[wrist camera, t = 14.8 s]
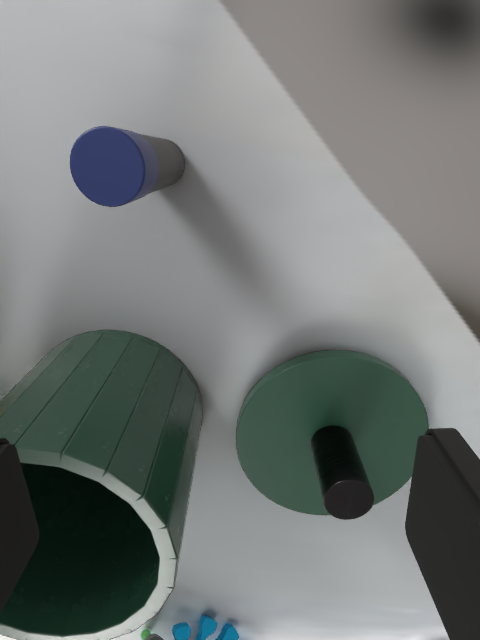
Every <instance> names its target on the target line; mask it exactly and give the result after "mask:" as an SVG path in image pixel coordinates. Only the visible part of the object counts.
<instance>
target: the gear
mask: <svg viewBox="0 0 480 640" xmlns="http://www.w3.org/2000/svg"><path fill="white" fill-rule="evenodd" d="M216 627H217V623H216V622H215V621H214V620H213V619H212V618H211V617H209V616H206V615H202V616H201V618H200V620H199V631H198V635H197V637H196V639H195V640H205V639H206V638H207V637H208V636H209V635H211V634H212V633H213V632H214V631H215V630H216ZM172 633H173V635H174V637H175V640H188V638H189V636H190V633H191V629H190V626H189V625H188V624H187V623H184V622H183V623H179V624H176V625H174V626H173V629H172ZM141 638H142V639H143V640H163V639H162V638H161V637H160V636H159V635H157V634H150V632H149V631H148V630H147V629H145V630H143V631H142V633H141ZM238 638H239V636H238V633H237V631H236V629H235V628H234V627H233V626H232V625H231V624H230V623H227V624H225V625H224V627H223V629H222V631H221V633H220V635H219V636H218V638H217V639H216V640H238Z"/></svg>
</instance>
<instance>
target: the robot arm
mask: <svg viewBox="0 0 480 640" xmlns="http://www.w3.org/2000/svg"><path fill="white" fill-rule="evenodd" d="M405 528H406V535H407V539H408V541H409V544H410V546H411V549H412V551H413V553H414V556H415V558H416V560H417V563H418V565H419V568H420V570H421V572H422V575H423V577H424V579H425V582H426V584H427V587H428V589H429V591H430V594H431V596H432V598H433V601H434V603H435V605H436V608H437V610H438V613H439V615H440V617H441V620H442V622H443V624H444V627H445V629H446V632H447V634H448V636H449V639H450V640H480V459H479V458H478V457H477V455H476V454H475V453H474V451H473V450H472V449H471V448H470V446H469V445H468V444H467V442H466V441H465V440H464V438H463V437H462V436H461V435H460V433H459V432H458V431H457V430H456V429H454V428H439V429H427V431H426V432H425V435H421V436H419V437H418V440H417V447H416V454H415V461H414V467H413V474H412V481H411V488H410V495H409V502H408V508H407V515H406V523H405ZM38 539H39V528H38V524H37V521H36V517H35V513H34V510H33V506H32V503H31V499H30V495H29V492H28V488H27V485H26V481H25V477H24V474H23V470H22V466H21V463H20V459H19V456H18V452H17V449H16V446H15V445H13V444H10V443H9V441H8V440H7V439H6V438H0V614H1V612H2V610H3V608H4V606H5V605H6V603H7V601H8V599H9V597H10V595H11V593H12V591H13V589H14V588H15V586H16V584H17V582H18V580H19V578H20V576H21V574H22V572H23V571H24V569H25V567H26V565H27V563H28V561H29V559H30V557H31V555H32V554H33V552H34V550H35V548H36V546H37V543H38Z"/></svg>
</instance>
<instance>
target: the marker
mask: <svg viewBox="0 0 480 640" xmlns="http://www.w3.org/2000/svg"><path fill="white" fill-rule="evenodd" d="M184 168H185V160H184V156H183V153H182V151H181V150H180V148H179V147H178V146H177V145H176V144H175V143H174V142H172V141H170V140H167V139H162V138H157V137H152V136H146V135H141V134H137V133H135V132H132V131H128V130H123V129H118V128H114V127H107V126H99V127H94V128H91V129H89V130H87V131H85V132H84V133H83V134H82V135H81V136H80V137H79V138H78V139H77V140H76V142H75V143H74V145H73V148H72V150H71V155H70V169H71V174H72V177H73V179H74V182H75V183H76V185H77V187H78V188H79V190H80V191H81V192H82V193H83V194H84V195H85V196H86V197H87V198H88V199H90V200H91V201H93V202H95V203H97V204H99V205H103V206H108V207H116V206H121V205H125V204H127V203H129V202H132V201H134V200H137V199H139V198H141V197H144V196H145V195H147V194H148V193H151V192H153V191H156V190H158V189H161V188H163V187H166V186H169V185H171V184H173V183H175V182H177V181H178V180H179V179H180V177H181V176H182V174H183V172H184Z"/></svg>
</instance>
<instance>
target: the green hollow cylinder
mask: <svg viewBox="0 0 480 640" xmlns="http://www.w3.org/2000/svg"><path fill="white" fill-rule="evenodd" d="M202 413H203V411H202V400H201V396H200V392H199V389H198V387H197V384H196V382H195V380H194V378H193V376H192V375H191V373H190V372H189V370H188V369H187V368H186V366H185V365H184V364H183V363H182V362H181V361H180V360H179V359H178V358H177V357H176V356H175V355H174V354H173V353H172V352H170V351H169V350H168V349H166V348H165V347H163V346H162V345H160V344H158V343H157V342H155V341H152V340H150V339H148V338H146V337H143V336H140V335H137V334H134V333H129V332H125V331H116V330H99V331H92V332H87V333H83V334H79V335H76V336H74V337H72V338H69V339H67V340H66V341H64V342H62V343H61V344H59V345H58V346H56V347H55V348H54V349H52V350H51V351H50V352H49V353H48V354H47V355H46V356H45V357H44V358H43V359H42V360H41V361H40V362H39V363H38V364H37V365H36V366H35V367H34V368H33V369H32V370H31V371H30V372H29V373H28V374H27V375H26V376H25V377H24V378H23V379H22V380H21V381H20V382H19V383H18V384H17V385H16V386H15V387H14V388H13V389H12V390H11V391H10V392H9V393H8V394H7V395H6V396H5V397H4V398H3V399H2V400H1V401H0V438H6V439H7V440H8V441H9V443H10V444H13V445H15V446H16V449H17V452H18V456H19V459H20V463H21V466H22V470H23V474H24V477H25V481H26V485H27V488H28V492H29V495H30V499H31V503H32V506H33V510H34V513H35V517H36V521H37V524H38V528H39V539H38V543H37V546H36V548H35V550H34V552H33V554H32V555H31V557H30V559H29V561H28V563H27V565H26V567H25V569H24V571H23V572H22V574H21V576H20V578H19V580H18V582H17V584H16V586H15V588H14V589H13V591H12V593H11V595H10V597H9V599H8V601H7V603H6V605H5V606H4V608H3V610H2V612H1V614H0V634H1V635H4V636H7V637H10V638H14V639H17V640H110V639H113V638H116V637H119V636H121V635H124V634H127V633H130V632H132V631H135V630H136V629H137V628H139V627H140V626H141V625H143V624H144V623H145V622H147V621H148V620H150V619H151V618H152V617H154V616H155V615H156V614H158V612H159V611H160V609H161V608H162V606H163V605H164V603H165V601H166V600H167V598H168V597H169V595H170V593H171V592H172V590H173V589H174V586H175V580H176V574H177V568H178V562H179V556H180V550H181V544H182V538H183V532H184V526H185V521H186V515H187V509H188V503H189V497H190V491H191V485H192V479H193V473H194V467H195V461H196V455H197V449H198V443H199V437H200V430H201V423H202V415H203V414H202Z"/></svg>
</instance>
